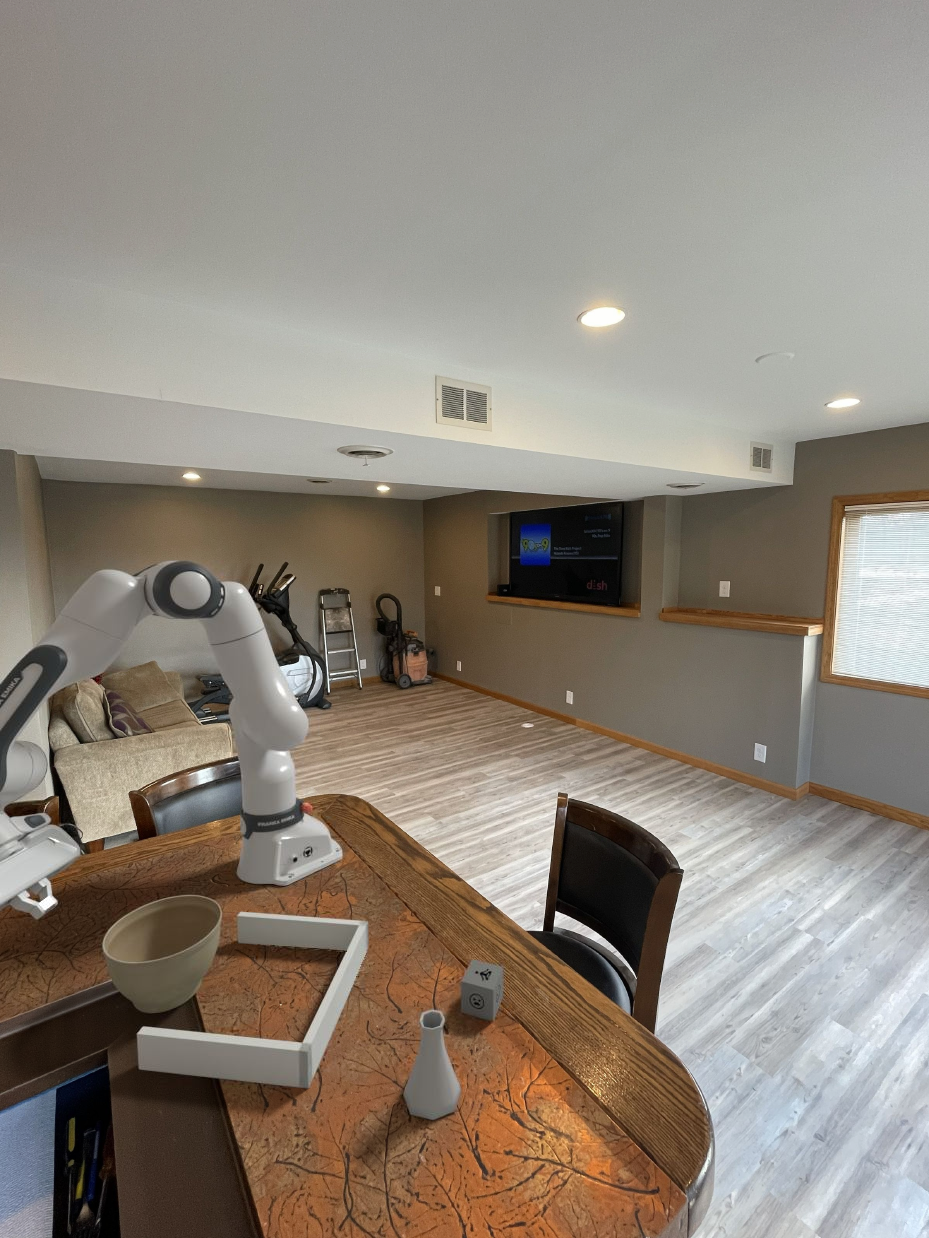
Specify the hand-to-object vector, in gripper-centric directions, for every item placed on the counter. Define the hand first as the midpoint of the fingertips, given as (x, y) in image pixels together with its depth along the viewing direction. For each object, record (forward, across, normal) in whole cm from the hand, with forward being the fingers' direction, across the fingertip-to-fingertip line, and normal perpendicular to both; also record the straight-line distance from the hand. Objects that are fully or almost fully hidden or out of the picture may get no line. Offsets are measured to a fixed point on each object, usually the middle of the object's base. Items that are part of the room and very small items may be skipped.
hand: (48, 911), depth 88 cm
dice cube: (+57, +3, -40) cm, 70 cm away
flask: (+53, -12, -37) cm, 66 cm away
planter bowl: (+22, 0, -6) cm, 23 cm away
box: (+34, 0, -18) cm, 38 cm away
